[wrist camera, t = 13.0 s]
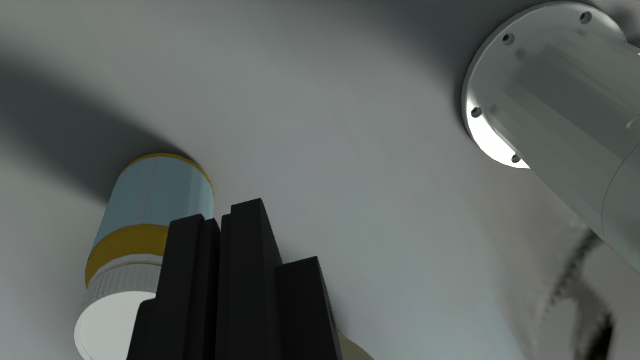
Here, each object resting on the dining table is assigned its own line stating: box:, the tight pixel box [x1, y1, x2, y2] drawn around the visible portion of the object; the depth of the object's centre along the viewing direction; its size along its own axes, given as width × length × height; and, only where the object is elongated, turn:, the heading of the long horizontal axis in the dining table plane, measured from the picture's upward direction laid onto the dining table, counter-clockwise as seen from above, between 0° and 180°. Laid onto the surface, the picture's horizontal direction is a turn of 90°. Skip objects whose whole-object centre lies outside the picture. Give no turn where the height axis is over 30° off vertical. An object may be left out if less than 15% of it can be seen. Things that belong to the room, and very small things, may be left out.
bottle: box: [74, 153, 214, 360], centre depth 35 cm, size 7×7×15 cm
